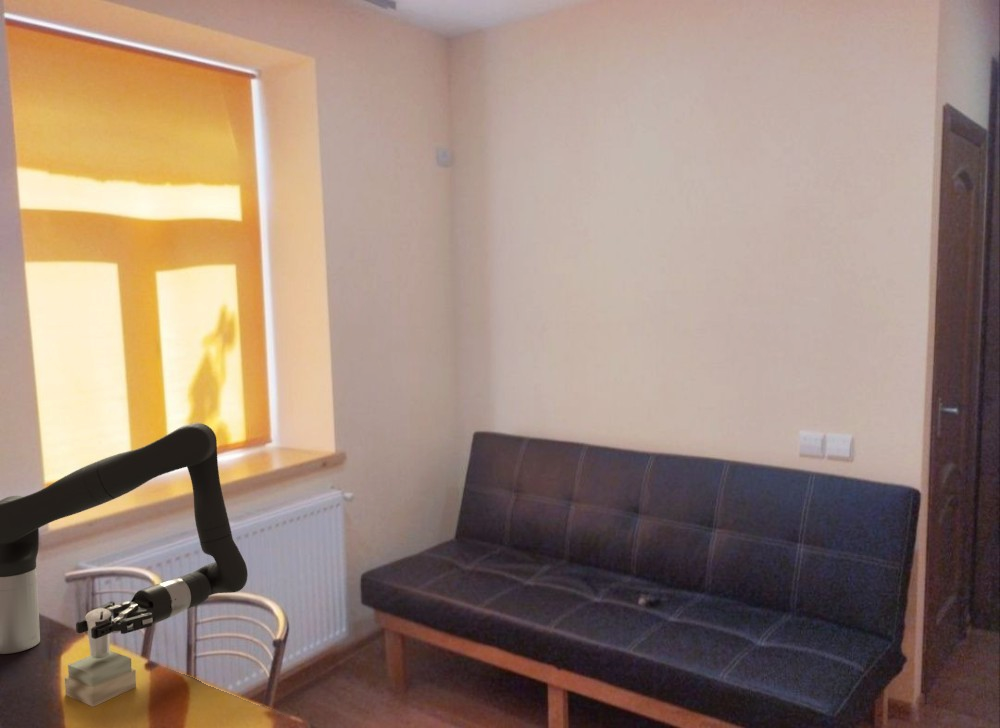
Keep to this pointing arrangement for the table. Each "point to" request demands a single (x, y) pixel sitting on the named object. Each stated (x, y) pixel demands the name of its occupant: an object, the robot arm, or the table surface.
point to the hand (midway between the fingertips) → (85, 630)
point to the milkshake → (101, 644)
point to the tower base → (100, 689)
